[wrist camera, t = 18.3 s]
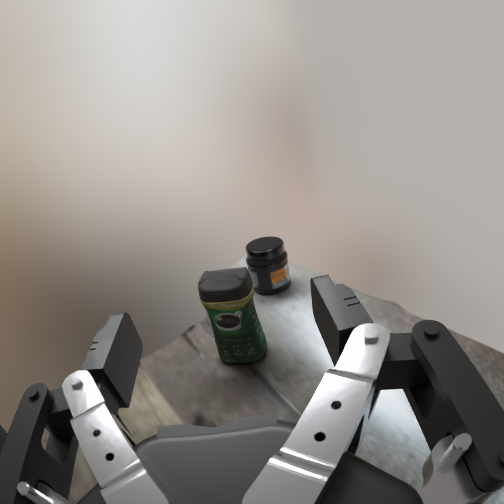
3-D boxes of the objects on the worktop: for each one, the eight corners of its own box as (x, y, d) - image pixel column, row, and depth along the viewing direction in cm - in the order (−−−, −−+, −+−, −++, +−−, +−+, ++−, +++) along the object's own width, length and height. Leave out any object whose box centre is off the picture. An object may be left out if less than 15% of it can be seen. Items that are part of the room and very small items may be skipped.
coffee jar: (268, 337, 63) (253, 258, 56) (265, 364, 56) (246, 281, 49) (224, 339, 65) (202, 264, 58) (216, 365, 58) (189, 286, 50)
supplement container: (299, 283, 80) (293, 241, 76) (265, 301, 76) (257, 257, 71) (276, 271, 89) (269, 232, 84) (244, 285, 85) (235, 245, 80)
